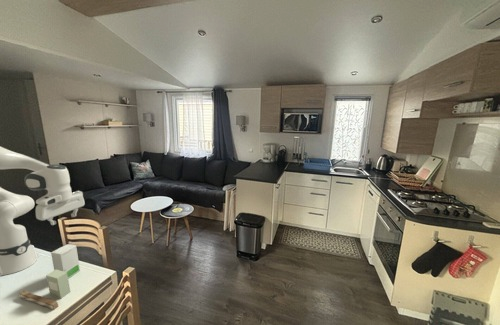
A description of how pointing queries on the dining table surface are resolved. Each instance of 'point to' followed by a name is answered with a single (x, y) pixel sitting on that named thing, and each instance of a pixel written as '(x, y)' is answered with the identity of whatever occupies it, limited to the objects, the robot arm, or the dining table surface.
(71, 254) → the skincare box
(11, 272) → the robot arm
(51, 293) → the sage tea box
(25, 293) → the rail
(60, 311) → the dining table surface
